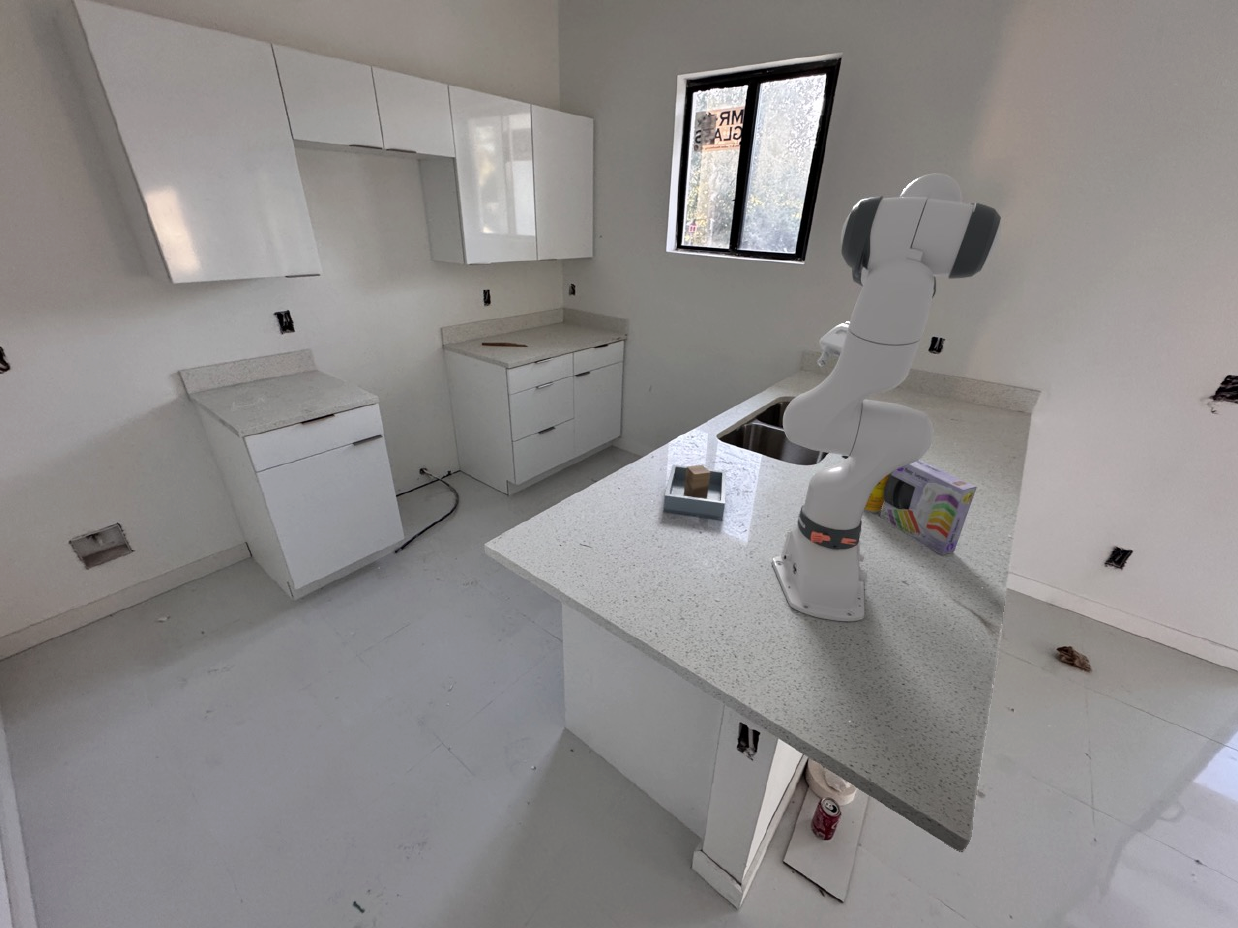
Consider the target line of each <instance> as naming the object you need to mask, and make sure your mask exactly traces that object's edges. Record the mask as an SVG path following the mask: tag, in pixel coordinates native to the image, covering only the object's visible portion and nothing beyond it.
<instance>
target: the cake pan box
mask: <svg viewBox="0 0 1238 928" xmlns="http://www.w3.org/2000/svg"><path fill="white" fill-rule="evenodd" d="M977 487H978V486H977V485H974V484H971V483H969V482H967V481H965V480H963V479H960V478H959V477H957V476H954V475H952V474H951V473H950V472H948V471H946V470H944V469H941V468H939V467H937V466H935V465H933V464H929V463H927V462H925V461H923V460H922V459H919V460H917V461H916V462H914V463H911V464H908V465H905V466H902V467H900V468H898V469H896V470H895V471H893V472H892V474H891V476H890V477H889V479H888V480H887V482H886V485H885V489H884V500H885V501H884V504H883V507H882V509H881V511H880V512H881V513H880V516H879V517H880V518H881V519H883V520H885V521H886V522H888V523H889V524H891V525H893V526H894V527H896V528H897V529H898V530H901V531H903V532H904V533H905V534H907V535H909V536H910V537H912V538H913V539H916V540H917V541H918V542H920V543H922V544H923V545H924V546H926V547H929V548H930V549H931V550H933V551H935V553H938V554H940V555H946V554H950V553H951V554H952V553H954V552H955V551H956V547H957V546H958V542H959V539H960V537H961V534H962V530H963V527H964V525H965V522H966V518H967V516H968V514H969V510H970V508H971V505H972V502H973V499H974V496H975V494H976V491H977Z"/></svg>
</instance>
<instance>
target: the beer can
mask: <svg viewBox="0 0 1238 928" xmlns="http://www.w3.org/2000/svg"><path fill="white" fill-rule="evenodd" d="M891 474H892V472H891V473H890V474H888V475H887V476H886V477H884V478H883V479H882V480H881V481H880V482H879V483H878V484H877V485H876V486H875V488H874V489H873V491H872V492H871V494H870V496H869V499H868V501H867V504H866V506H865V509H864V511H865V512H867V513H872V514H876V513H878V512H879V511H880V512H881V511H882V508H883V504H884V501H885V500H884V489H885V485H886V482H887V480H888V479H889V477H890V476H891Z"/></svg>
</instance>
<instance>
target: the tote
mask: <svg viewBox="0 0 1238 928" xmlns="http://www.w3.org/2000/svg"><path fill="white" fill-rule="evenodd" d="M687 466H688V465H687ZM687 466H685V465H679V464H678V465H677V464H672V466H671V470H670V474H669V477H668V478H669V479H668V480H667V481H668V482H667V485H666V489H665V494H664V501H663V511H662V512H663V513H666V514H673V515H681V516H682V515H683V516H689V517H695V518H703V519H709V520H717V521H723V520H724V519H723V518H724V512H725V505H726V488H727V487H726V485H727V471H724V470H719V469H718V470H716V469H712V468H711V469H709V468H707V469H708V470H709V471H710V472H711V473H710V480H709V487H708V495H707V499H704V498H696V497H689V496H686V495H685V493H684V487H685V478H686V469H687Z"/></svg>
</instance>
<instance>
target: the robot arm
mask: <svg viewBox="0 0 1238 928" xmlns="http://www.w3.org/2000/svg"><path fill="white" fill-rule="evenodd" d="M1001 218H1002V217H1001V215H1000V213H999V212H998V211H997V210H996V209H995V208H994V207H991V206H989V205H986V204H983V203H979V202H971V203H968V202H963V194H962V189H961V186H960V184H959V183H958V181H957V180H956V179H955V178H953V177H952V176H950V175H948V174H945V173H939V172H937V173H928V174H923V175H922V176H919V177H917V178H916V179H914V180H913V181H911V182H910V183H909V184H907V186H906V187H905V188H904V189H903V191H902V192H901V193H900V195H899V196H898V197H895V196H894V197H886V198H885V197H884V196H883V195H881V196H872V197H866V198H863V199H860V200H859V201H858V202H857V203H856V204H855V205H854V206H853V207H852V209H851V211H850V213H849V214H848V215H847V217H846V219H845V221H844V223H843V225H842V229H841V233H840V245H841V246H840V247H841V255H842V258H843V260H844V261H845V263H846V265H847V266H848V267H850V268H851V275H852V281H853V282H855V283H856V284H858V285H860V286H861V287H862V288H861V290H860V292H859V294H858V297H857V299H856V302H855V304H854V308H853V311H852V313H851V316H850V319H849V321H846V322H842V323H840V324H837V325H836V326H834V327H833V328H832V329H830V330H829V331H827V333H825V334H824V335H823V336H822V337H821V338H820V339H819V342H818V343H819V346H820V347H821V349H822V353H821V356H820V357H819V358H818V359H817V361H816V363H817V365H818V366H819V367H823V368H824V367H825V366H826V365H827V364H829V363H828V361H827V360H828V358H831V357H832V356H837V357H838V360H837V362H836V364H835V366H834V368H833V370H832V371H831V372H830V373H829V375H827V377H826V378H825V379H824V380H823V381H822V382H820V383H819V384H818V385H816V386H815V387H813V388H812V389H811V388H810V389H809V390H808V391H807V390H806V391H805V392H803V393H800V394H798V395H797V396H796V397H794V398H793V399H792V400H791V401H790V402H789V404H788V405H787V406H786V408H785V409H784V413H783V417H782V426H783V431H784V434H785V435H786V438H787V440H788V441H789V442H790V443H793V444H795V445H797V446H801V447H804V448H805V449H809V450H812V451H816V452H823V453H828V454H834V455H840V456H845V457H847V458H846V459H845V460H843V461H842V462H839V463H836V464H831V465H828V466H824V467H823V468H820V469H818V470H817V471H816V472H815V473H814V474H812V476H811V477H810V480H809V483H808V485H807V491H806V494H805V495H806V496H805V499H804V503H803V505H802V506H801V507H800V508H801V509H800V510H799V513H798V517H797V518H798V519H797V524H796V526H794V527H792V528H791V529H790V530H789V531H787V533H786V537H785V540H784V544H783V547H782V550H781V554H780V555H777V556H774V557H773V558H772V560H771V565H772V567H773V570H774V573H775V574H776V576H777V579H778V581H779V583H780V585H781V588H782V591H783V593H784V596H785V599H786V600H787V602H788V603H787V604H788V605H789V606H790V607H791V609H794V610H796V611H798V612H800V613H803V614H805V615H807V616H811V617H816V618H819V619H825V620H831V621H839V622H856V621H861V620H863V619H864V617H865V592H864V590H865V588H864V583H866V582H867V580H868V571H866V570H863V569H861V567H860V562H864V561H865V560H864V559H865V555H864V554H861V551H860V550H861V548H860V547H861V544H862V542H861V541H860V537H861V534H862V526H863V524H862V523H863V522H862V518H863V515H864V509H865V506H866V504H867V501H868V499H869V496H870V494H871V492H872V491H873V489H874V488H875V486H876V485H877V484H878V483H879V482H880V481H881V480H882V479H883V478H884V477H886V476H887V475H888V474H890V473H891V472H893V471H895V470H896V469H898V468H900V467H902V466H905V465H908V464H911V463H914V462H916V461H917V460H921V459H923V457H924V456H925V455H926V454H927V453H928V451H929V450H930V448H931V447H932V444H933V441H934V436H935V435H934V434H935V430H934V426H933V422H932V420H931V418H930V417H929V415H928V414H927V413H926V412H924V411H922V410H920V409H916V408H913V407H910V406H907V405H903V404H900V403H895V402H887V401H880V400H874V399H868V398H869V397H872V396H874V395H879V394H882V393H886V392H889V391H891V390H894V389H895V388H896V387H898V386H899V385H900V384H901V383H903V382H904V381H905V380H906V378H907V377H908V376H909V374H910V371H911V368H912V366H913V363H914V360H915V358H916V355H917V351H918V349H919V346H920V343H921V341H922V337H923V334H924V332H925V328H926V326H927V323H928V319H929V315H930V312H931V306H932V300H933V298H934V297H935V295H936V292H937V279H936V277H939V278H940V277H948V279H949V280H950V279H952V280H953V279H964V278H972V277H973V276H975V275H976V274H977V273H980V271H982V269H983V267H984V266H985V265H986V264H987V263H988V262H989V261H990V259H991V258H992V257H993V256H994V254H995V252H996V251H997V249H998V247H999V243H1000V240H1001V237H1002V236H1001V235H1002V226H1001V225H1002V224H1001Z"/></svg>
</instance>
